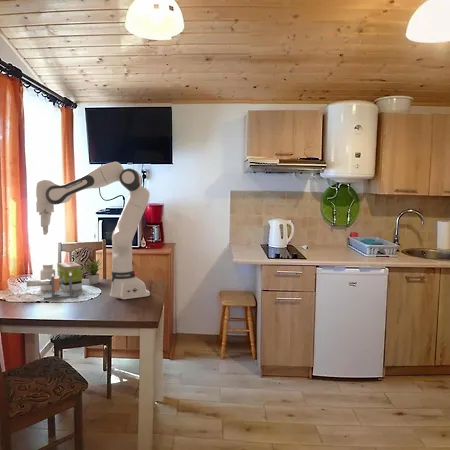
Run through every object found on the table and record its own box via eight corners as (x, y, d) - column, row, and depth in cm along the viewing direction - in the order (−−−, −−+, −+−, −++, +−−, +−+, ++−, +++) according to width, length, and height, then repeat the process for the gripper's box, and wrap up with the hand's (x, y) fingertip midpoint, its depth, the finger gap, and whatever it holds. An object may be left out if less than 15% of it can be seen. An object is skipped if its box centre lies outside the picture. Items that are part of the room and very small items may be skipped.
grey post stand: (77, 292, 230) (76, 272, 229) (77, 297, 221) (77, 275, 220) (44, 294, 224) (44, 273, 223) (43, 299, 215) (43, 277, 214)
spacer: (59, 287, 225) (59, 275, 225) (59, 290, 219) (59, 278, 218) (54, 288, 224) (54, 276, 224) (54, 291, 218) (53, 278, 217)
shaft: (63, 283, 224) (62, 278, 223) (62, 284, 221) (62, 279, 221) (27, 286, 217) (27, 280, 217) (26, 287, 214) (26, 281, 214)
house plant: (89, 280, 261) (88, 255, 260) (109, 281, 259) (109, 256, 257) (77, 285, 247) (77, 259, 246) (98, 286, 245) (98, 260, 243)
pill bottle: (56, 290, 236) (56, 264, 234) (42, 291, 231) (41, 266, 230) (53, 287, 242) (53, 262, 241) (39, 288, 238) (38, 263, 236)
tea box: (57, 286, 244) (56, 262, 242) (74, 284, 250) (73, 261, 249) (65, 291, 232) (64, 266, 231) (82, 289, 238) (82, 264, 237)
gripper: (50, 209, 215) (51, 235, 216) (52, 208, 234) (52, 231, 235) (37, 209, 212) (38, 235, 214) (40, 208, 231) (40, 231, 233)
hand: (45, 233), depth 224 cm, fingers open, 8 cm apart
